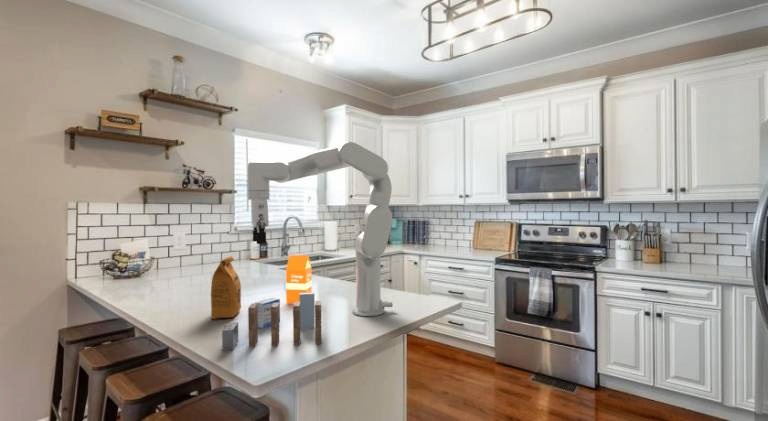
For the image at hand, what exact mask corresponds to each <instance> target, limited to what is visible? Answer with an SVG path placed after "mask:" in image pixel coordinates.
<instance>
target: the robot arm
mask: <svg viewBox="0 0 768 421" xmlns="http://www.w3.org/2000/svg"><path fill="white" fill-rule="evenodd" d="M349 167H351V168H354V169H355V170H357V171H358V172H360V173H361V174H362V176H363V177H364V178H365V180H367V182H368V183H369V194H368V200H367V203H366V207H365V211H364V214H363V222H364V223H365V225H364V226H365V228H364V231H363V232H361V233H360V234H359V235H358V236H357V237H356V240H355V244H354V245H355V246H354V247H355V262H356V263H355V264H356V265H355V266H356V268H355V269H356V272H355V273H356V274H355V275H356V277H355V278H356V284H355V285H356V287H355V288H356V289H355V290H356V292H355V293H356V294H355V295H356V297H355V299H356V306H354V307H352V311H351V312H352V313H353V314H354V315H356V316H361V317H375V316H379V315H382V314H384V313H385V308H393V304H394V303H393V301H387V300H386V301H383V300H382V299H381V296H382V295H381V293H382V292H381V287H382V286H381V277H382V276H381V275H382V274H381V273H382V272H381V267H382V266H381V256H383V255H384V253H385V252H386V249H387V246H388V242H389V238H390V234H391V230H392V226H393V225H392V224H393V214H392V212H391V210H390V208H389V207H390V202H391V198H392V190H393V188H392V182H391V179H390V176H389V174H388V172H389V165H388V162H387V161H386V160H385V159H384V158H383V157H381V156H380V155H378V154H377V153H374V152H372V151H371V150H369V149H367V148H365V147H364V146H362V145H360V144H358V143H356V142H353V141H346V142H344V143H343V144H341V145H338V146H334V147H330V148H325V149H320V150H317V151H316V150H315V151H313V152H310V153H308V154H307V155H305V156H302V157H300V158H297V159H294V160H290V161H285V162H284V161H281V160H276V161H267V162H264V161H250V162H248V164H247V200H248V201H249V200H250V201H251V203H250V205H251V209H250V210H251V212H250V213H251V225H252V226H253V228H252V241H253V242H256V244H257V245H260V244H261V245H262V244H263V245H264V244H267V232H266V227H269V226H270V222H269V220H270V219H269V206H268V200H270V181H272V182H276V183H280V184H282V183H288V182H291V181H295V180H298V179H303V178H306V177H307V178H308V177H311V176H318V175H320V174H325V173H328V172H333V171H337V170H340V169H344V168H349Z"/></svg>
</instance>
